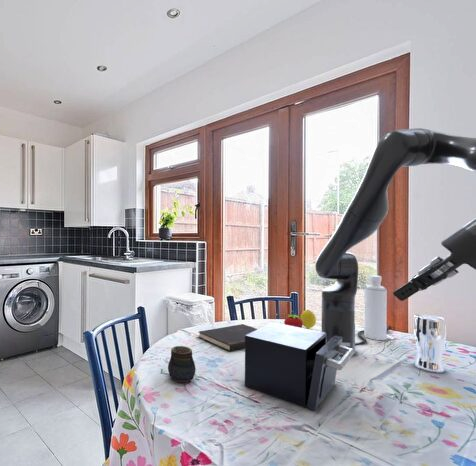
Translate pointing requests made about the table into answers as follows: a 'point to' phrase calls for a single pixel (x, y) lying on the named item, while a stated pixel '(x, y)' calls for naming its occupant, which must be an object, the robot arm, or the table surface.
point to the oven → (282, 361)
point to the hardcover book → (227, 336)
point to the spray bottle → (375, 310)
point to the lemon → (308, 319)
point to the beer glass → (429, 342)
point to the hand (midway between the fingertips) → (397, 297)
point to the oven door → (327, 369)
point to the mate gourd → (181, 364)
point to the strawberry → (293, 321)
